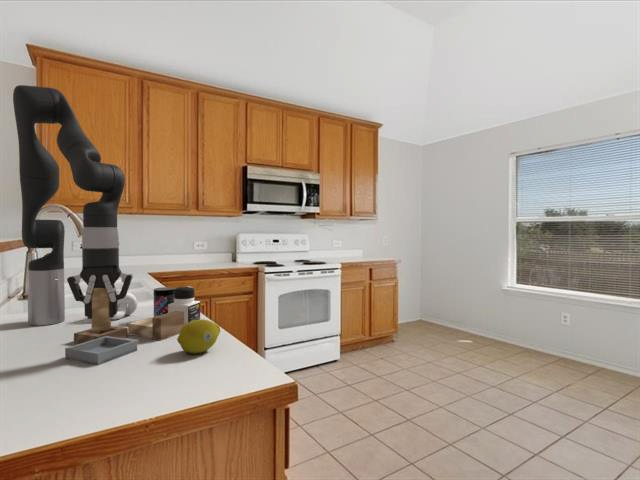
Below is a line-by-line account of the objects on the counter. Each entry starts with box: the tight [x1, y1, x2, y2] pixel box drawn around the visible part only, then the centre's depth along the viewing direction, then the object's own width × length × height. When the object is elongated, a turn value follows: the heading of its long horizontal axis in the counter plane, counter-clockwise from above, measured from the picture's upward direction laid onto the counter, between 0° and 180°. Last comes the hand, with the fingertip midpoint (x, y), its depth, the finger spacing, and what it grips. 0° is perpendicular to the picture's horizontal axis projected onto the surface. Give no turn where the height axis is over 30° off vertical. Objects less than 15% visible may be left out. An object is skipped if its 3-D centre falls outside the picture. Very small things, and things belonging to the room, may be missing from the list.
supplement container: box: [152, 286, 176, 317], centre depth 123 cm, size 7×7×10 cm
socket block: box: [73, 325, 129, 344], centre depth 100 cm, size 9×9×2 cm
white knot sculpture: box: [111, 289, 138, 321], centre depth 126 cm, size 11×12×9 cm
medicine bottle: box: [168, 286, 201, 325], centre depth 116 cm, size 7×7×12 cm
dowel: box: [91, 288, 112, 331], centre depth 88 cm, size 4×4×10 cm
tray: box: [64, 336, 138, 366], centre depth 88 cm, size 11×11×2 cm
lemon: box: [176, 319, 221, 355], centre depth 90 cm, size 11×8×8 cm
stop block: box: [151, 311, 184, 341], centre depth 104 cm, size 3×9×6 cm, turn 159°
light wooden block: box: [127, 316, 153, 339], centre depth 107 cm, size 10×8×4 cm
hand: (101, 317), depth 88 cm, fingers closed on dowel, 4 cm apart
